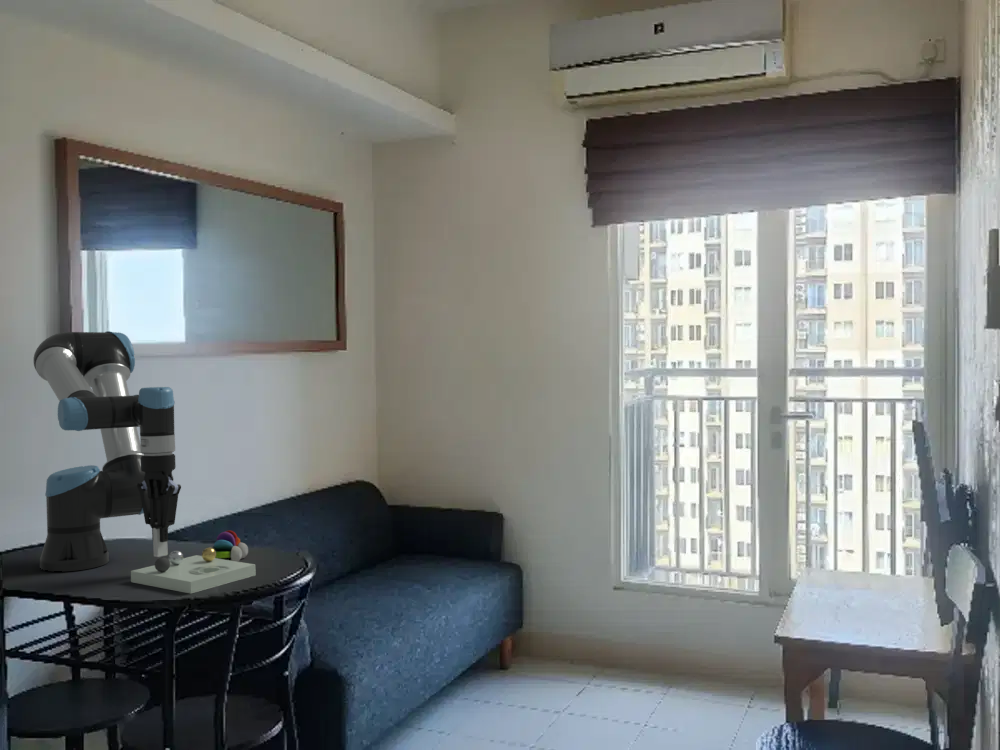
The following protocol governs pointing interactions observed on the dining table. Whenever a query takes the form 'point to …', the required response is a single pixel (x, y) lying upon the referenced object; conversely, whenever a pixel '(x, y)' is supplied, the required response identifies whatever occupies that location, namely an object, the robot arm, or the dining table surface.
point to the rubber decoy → (162, 564)
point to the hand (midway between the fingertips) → (160, 555)
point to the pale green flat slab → (194, 574)
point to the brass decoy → (208, 554)
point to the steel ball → (176, 557)
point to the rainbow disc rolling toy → (229, 546)
